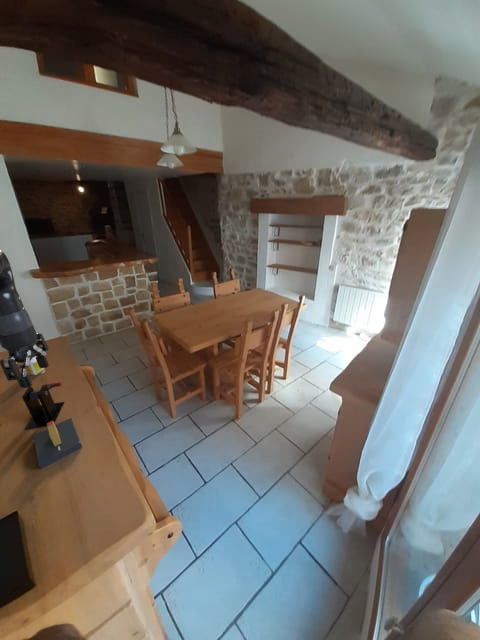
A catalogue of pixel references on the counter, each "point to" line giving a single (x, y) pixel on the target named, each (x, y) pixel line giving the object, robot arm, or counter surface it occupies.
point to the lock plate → (53, 453)
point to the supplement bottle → (34, 367)
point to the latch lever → (34, 393)
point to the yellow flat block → (53, 433)
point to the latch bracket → (41, 408)
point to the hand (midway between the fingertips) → (36, 376)
